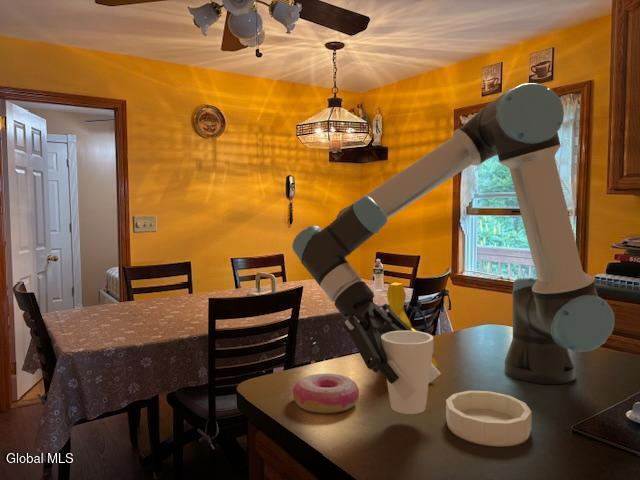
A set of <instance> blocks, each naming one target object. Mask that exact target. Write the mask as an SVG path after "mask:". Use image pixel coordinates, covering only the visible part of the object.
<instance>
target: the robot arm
mask: <svg viewBox="0 0 640 480" xmlns="http://www.w3.org/2000/svg"><path fill="white" fill-rule="evenodd" d="M564 118H565V110H564V106H563V103H562V100H561V99H560V97H559V95H558V94H557V93H556V92H555V91H554V90H552V89H551V88H549V87H547V86H545V85H543V84H540V83H533V82H530V83H522V84H520V85H518V86H515V87H511V88H510V89H507V90H506V91H505V92H504V93H503V94H501V95H500V96H498V97H496V98H495V99H494V100H492V101H490V102H489V103H487V104H486V105H485V106H484V107H482V108H481V109H480V110H479V111H478V112H477V113H476V114H475V115H474V116H473V117H472V118H470V119H469V120H468V121H467V122H465V123H464V124H463V125H461V126H459V128H457V129H456V130H454V132H453V136H452V137H451V138H449V139H448V140H447V141H445V142H444V143H442V144H440V145H439V146H437V147H436V148H434V149H433V150H432V151H430V152H429V153H427V154H425V155H423V156H422V157H421V158H420V159H418V160H417V161H415V162H414V163H412V164H410V165H408V166H407V167H406V168H404V169H403V170H401V171H400V172H398V173H396V174H395V175H393V176H392V177H390V178H389V179H388V180H386V181H385V182H383V183H382V184H381V185H379V186H377V187H376V188H374V189H372V190H371V191H369V192H368V193H367V194H365V195H364V196H362V197H360V198H359V199H358V200H356V201H353V203H352V204H350V205H349V206H346V207H345V208H342V210H340V211H339V212H338V214H337V215H336V218H335V219H334V220H333V221H332V222H330V224H328V225H327V226H326V227H324V228H321V227H320V226H318V225H316V224H315V225H309V226H307V228H304V229H302V230H301V231H299V233H298V234H296V236H295V237H294V239H293V241H292V245H291V246H292V247H291V248H292V251H293V252H294V254H295V255H296V256H297V258H298V259H299V261H300V264H302V266H303V267H304V268H305V269H306V270H307V272H308V273H309V275H310V276H311V277H312V278H313V280H315V282H316V283H317V285H318V286H319V287H320V288H321V289H322V291H323V292H324V293H325V294H326V296H327V297H328V299H329V300H330V301H331V302H333V303H334V306H335V308H336V310H337V311H338V312H339V313H340V315H341V316H342V317H343V318H344V319H346V320H345V321H344V322H343V323H342V327H343V329H344V330H345V331H346V332H347V333H348V334H349V336H350V337H351V338H350V339H352V341H353V343H354V345H355V347H356V349H357V351H358V353H359V355H360V356H361V358H362V360H363V362H364V364H365V365H366V367H367V369H369V370H370V371H371V370H372V371H373V372H374V373H377V372H378V371H380V372H381V373H382V374H383V376H384V377H385V378H386V381H387V380H388V381H389V382H390V383H391V384H392V385H393V386H394V388H395V389H396V390H397V392H398V393H399V394H400V396H401V397H402V398H403V400H404V401H405V400H406V399H408V398H409V397H410V396H411V395H412V394H413V393H415V392H416V390H415V388H414V387H413V386H412V385H411V383H410V382H409V381H408V379H407V378H406V377H405V376H404V374H403V373H402V372H401V371H400V369H399V368H398V367H397V365H396V364H395V363H394V362H393V360H391V361H389V362H388V358H387V356H386V353H385V351H384V348H383V345H382V343H381V337H380V336H379V334H385V333H387V332H392V331H406V330H408V331H413V330H412V329H411V328H409V327H408V326H407V325H406V324H405V323H404V322H403V321H402V320H401V319H400V318H399V317H398V316H397V315H396V314H395V313H394V312H393V311H392V310H391V308H390V305H389V304H387V303H384V304H383V305H382V306H378V304H376V303H375V302H374V298H375V293H374V292H373V290H372V289H371V288H370V287H369V286H368V284H367V283H366V282H365V281H363V280H362V277H361V276H360V274H359V273H358V272H357V271H356V270H355V269H354V268H353V266H352V265H351V264H350V263H349V261H348V260H347V259H346V258H347V257H348V256H350V255H351V254H352V253H353V252H354V251H356V250H357V249H358V248H359V247H361V246H362V245H363V244H364V243H366V242H367V241H369V239H370V238H372V237H373V236H374V235H375V234H379V231H380V230H382V228H383V227H385V226H386V224H388V220H389V219H390V218H392V217H393V216H395V215H397V214H398V213H399V212H402V211H403V210H404V209H406V208H407V207H409V206H410V205H412V204H413V203H415V202H417V201H418V200H419V199H421V198H422V197H424V196H425V195H427V194H429V193H431V192H432V191H434V190H435V189H436V188H438V187H440V186H441V185H442V184H444V183H446V182H447V181H449V180H450V179H452V178H453V177H455V176H456V175H458V174H459V173H461V172H462V171H464V170H465V169H467V168H468V167H470V166H476V167H477V166H479V165H481V164H482V163H484V162H487V160H490V159H491V158H494V157H496V156H497V158H498V162H499V164H501V165H503V166H505V167H506V168H508V169H509V172H510V173H509V174H510V177H511V181H512V185H513V188H514V192H515V196H516V200H517V204H518V208H519V211H520V217H521V219H522V223H523V228H524V232H525V235H526V239H527V243H528V244H527V245H528V247H529V252H530V255H531V259H532V263H533V267H534V271H535V274H536V277H518V278H516V279H515V280H514V281H513V286H512V292H511V294H512V339H511V342H510V345H509V348H508V350H507V353H506V356H505V358H504V372H505V373H506V374H507V375H509V377H512V378H514V379H517V380H520V381H524V382H527V383H528V382H529V383H533V384H540V385H541V384H542V385H563V384H568V383H571V382H573V381H574V380H575V379H576V376H575V371H576V368H575V365H574V362H573V359H572V357H571V353H570V350H571V351H574V352H579V353H584V352H590V351H593V350H596V349H598V348H599V347H602V345H604V344H605V343H606V342H607V340H608V338H609V337H610V336H611V335H612V334H613V332H614V327H615V321H616V320H615V313H614V311H613V309H612V307H611V305H610V304H609V303H608V302H607V301H606V300H605V299H603V298H602V297H600V296H599V295H598V292H597V288H596V282H595V279H594V277H593V276H592V275H589V274H588V273H586V272H585V271H584V270H583V266H582V263H581V259H580V255H579V250H578V246H577V242H576V238H575V234H574V230H573V226H572V222H571V218H570V214H569V210H568V206H567V202H566V198H565V197H566V196H565V194H564V189H563V186H562V181H561V177H560V173H559V171H558V166H557V162H556V161H557V160H556V154H557V152H558V151H559V150H560V148H561V146H562V145H561V141H560V137H559V132H558V131H559V130H560V128H561V126H562V124H563V122H564ZM441 374H442V373H441V372H440V371H439V370H438V368H437V366H436V367H435V366H434V365H433V363H432V362H431V367H430V376H429V383H431V382H433V381H434V380H435V379H436V378H438V377H439V376H440V375H441Z"/></svg>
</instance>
